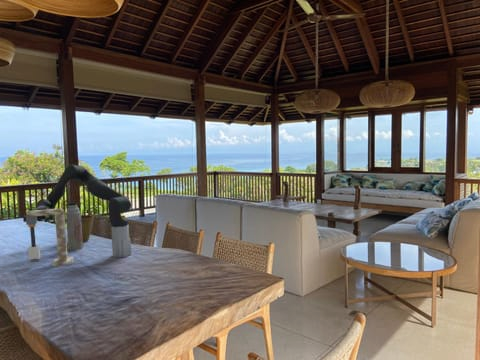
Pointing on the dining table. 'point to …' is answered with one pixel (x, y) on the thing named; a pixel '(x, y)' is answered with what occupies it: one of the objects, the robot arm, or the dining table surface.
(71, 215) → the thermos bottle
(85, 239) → the plant pot
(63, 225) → the stand
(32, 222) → the dark grey piece
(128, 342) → the dining table surface
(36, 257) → the sleeve
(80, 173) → the robot arm
